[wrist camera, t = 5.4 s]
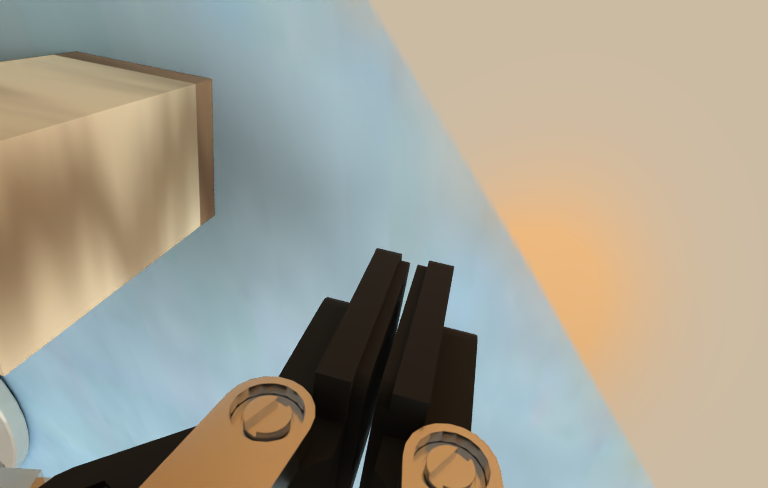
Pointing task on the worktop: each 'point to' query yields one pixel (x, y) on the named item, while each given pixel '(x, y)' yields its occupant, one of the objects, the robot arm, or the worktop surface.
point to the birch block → (92, 184)
